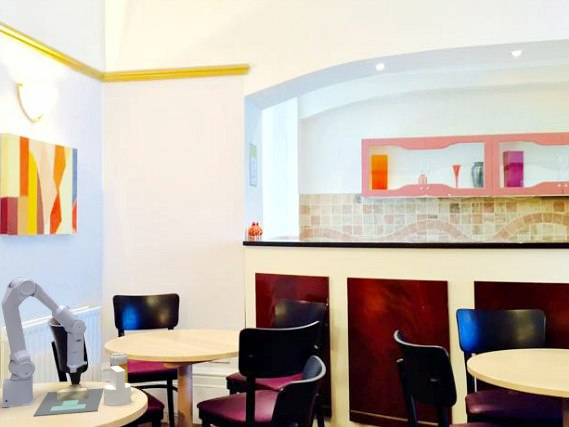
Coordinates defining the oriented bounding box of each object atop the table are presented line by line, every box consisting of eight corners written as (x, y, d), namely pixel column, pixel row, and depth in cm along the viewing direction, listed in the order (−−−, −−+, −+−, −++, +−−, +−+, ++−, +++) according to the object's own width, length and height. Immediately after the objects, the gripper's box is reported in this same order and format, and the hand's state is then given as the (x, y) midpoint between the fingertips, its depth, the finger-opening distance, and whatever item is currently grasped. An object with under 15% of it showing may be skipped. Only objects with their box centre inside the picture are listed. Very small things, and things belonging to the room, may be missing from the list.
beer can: (130, 392, 214) (129, 352, 215) (123, 397, 208) (123, 355, 209) (114, 392, 215) (114, 351, 215) (107, 396, 209) (107, 355, 209)
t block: (56, 401, 203) (56, 392, 203) (61, 393, 212) (61, 385, 212) (86, 398, 205) (86, 390, 205) (89, 391, 215) (89, 383, 215)
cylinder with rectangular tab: (134, 404, 199) (133, 369, 200) (108, 408, 195) (107, 373, 195) (126, 398, 207) (126, 364, 207) (101, 402, 202) (101, 368, 203)
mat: (33, 416, 187) (33, 415, 187) (48, 393, 214) (47, 392, 214) (97, 411, 192) (97, 410, 192) (103, 389, 219) (103, 388, 219)
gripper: (84, 354, 209) (84, 391, 209) (88, 346, 223) (88, 381, 223) (64, 355, 207) (64, 393, 207) (69, 347, 222) (69, 383, 221)
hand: (75, 387), depth 215 cm, fingers closed
